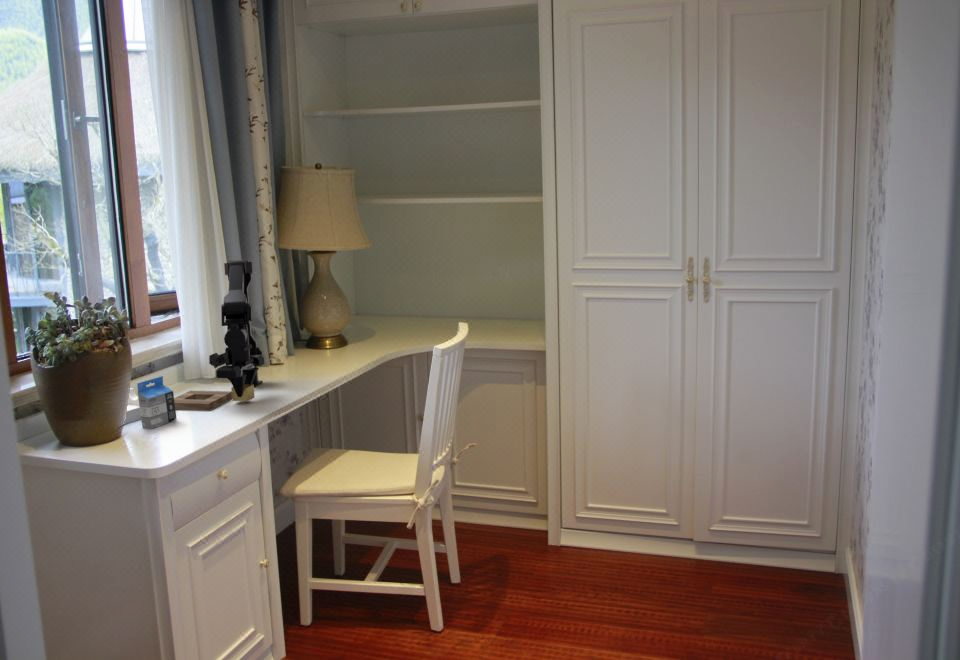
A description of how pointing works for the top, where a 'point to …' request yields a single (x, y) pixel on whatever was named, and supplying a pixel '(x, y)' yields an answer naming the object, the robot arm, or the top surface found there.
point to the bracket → (132, 407)
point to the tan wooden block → (244, 393)
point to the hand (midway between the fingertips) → (243, 395)
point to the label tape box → (156, 403)
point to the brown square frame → (201, 400)
